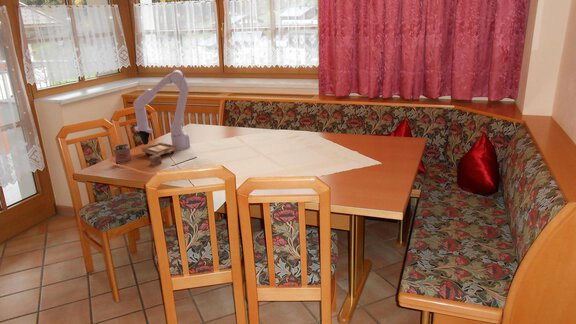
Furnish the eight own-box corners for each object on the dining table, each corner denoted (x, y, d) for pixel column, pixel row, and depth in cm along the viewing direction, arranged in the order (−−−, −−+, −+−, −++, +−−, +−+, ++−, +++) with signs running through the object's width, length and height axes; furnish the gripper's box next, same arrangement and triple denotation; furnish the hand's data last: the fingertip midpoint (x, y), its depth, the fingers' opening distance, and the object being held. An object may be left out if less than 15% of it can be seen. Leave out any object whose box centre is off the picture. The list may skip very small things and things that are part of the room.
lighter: (115, 164, 229) (112, 146, 225) (116, 162, 232) (112, 144, 229) (131, 162, 231) (128, 144, 227) (132, 160, 234) (129, 142, 231)
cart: (161, 149, 247) (160, 142, 246) (176, 153, 238) (175, 145, 237) (143, 155, 238) (141, 147, 237) (158, 159, 230) (157, 151, 228)
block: (157, 163, 226) (155, 154, 224) (161, 165, 224) (160, 155, 222) (150, 166, 223) (149, 156, 222) (155, 167, 221) (153, 157, 219)
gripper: (128, 120, 242) (132, 144, 246) (143, 123, 233) (147, 147, 237) (139, 117, 247) (143, 141, 251) (154, 120, 238) (158, 144, 242)
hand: (145, 144), depth 244 cm, fingers closed
